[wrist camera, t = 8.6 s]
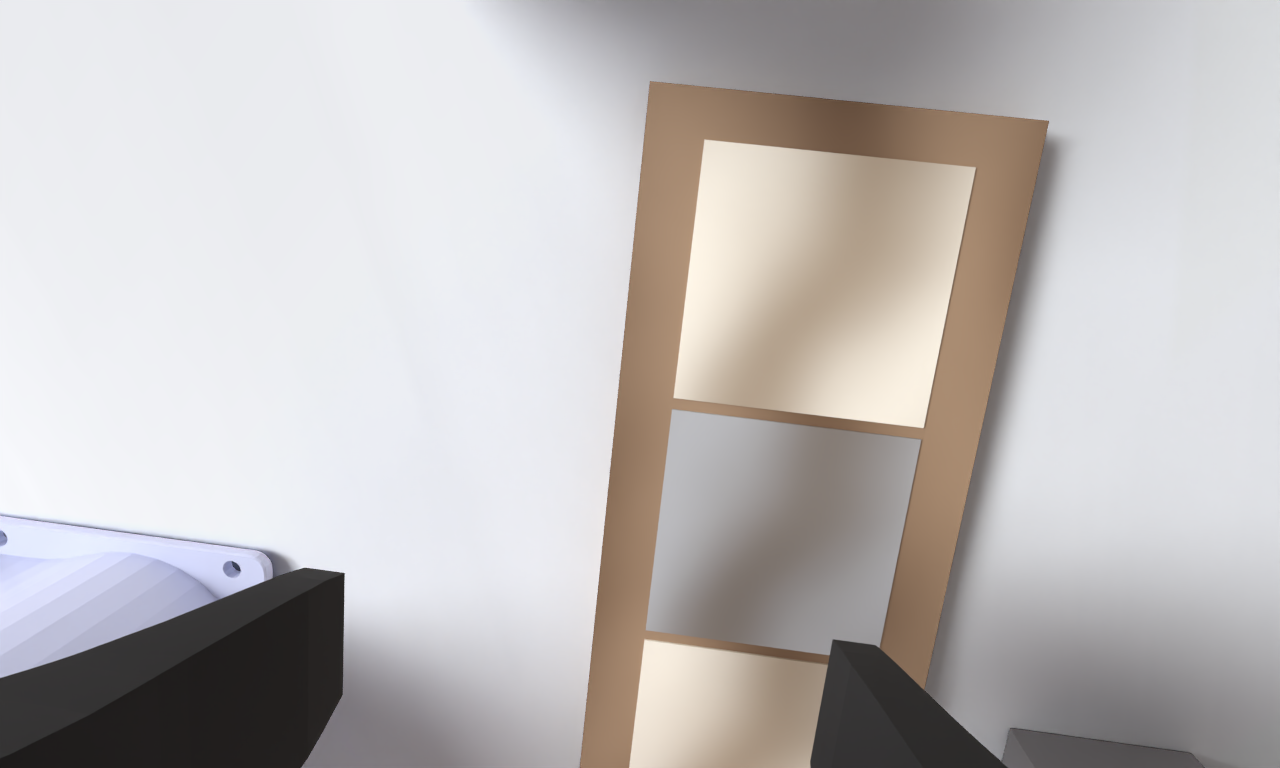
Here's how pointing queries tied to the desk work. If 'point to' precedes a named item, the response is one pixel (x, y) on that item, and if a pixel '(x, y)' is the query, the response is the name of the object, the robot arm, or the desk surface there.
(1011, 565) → the desk surface
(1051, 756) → the dark grey block
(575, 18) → the desk surface
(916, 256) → the board
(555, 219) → the desk surface
